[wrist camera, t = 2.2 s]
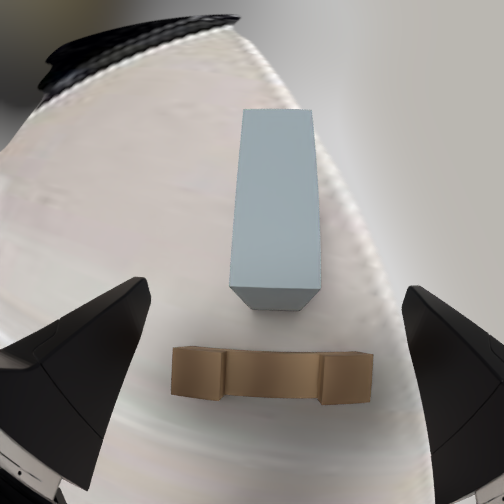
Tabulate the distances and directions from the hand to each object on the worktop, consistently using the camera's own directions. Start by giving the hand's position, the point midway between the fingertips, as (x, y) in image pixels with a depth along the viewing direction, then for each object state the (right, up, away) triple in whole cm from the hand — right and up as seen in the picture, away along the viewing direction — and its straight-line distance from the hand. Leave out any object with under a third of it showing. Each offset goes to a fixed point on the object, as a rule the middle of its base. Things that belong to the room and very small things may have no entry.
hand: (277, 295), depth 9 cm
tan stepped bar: (+1, -7, +10) cm, 12 cm away
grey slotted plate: (+1, +2, +12) cm, 13 cm away
